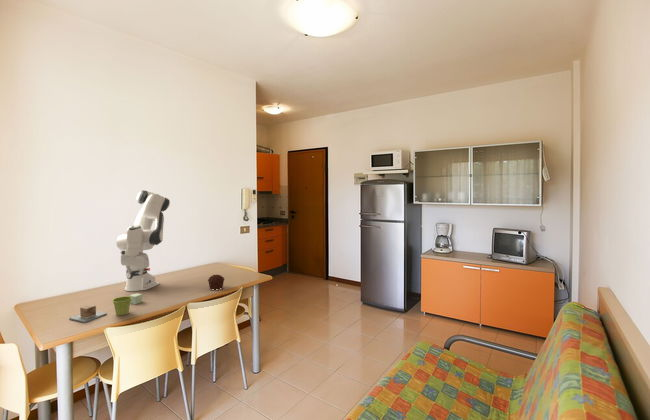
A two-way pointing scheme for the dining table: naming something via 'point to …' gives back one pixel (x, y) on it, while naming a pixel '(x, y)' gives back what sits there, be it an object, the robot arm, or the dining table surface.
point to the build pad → (84, 319)
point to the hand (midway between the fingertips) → (135, 273)
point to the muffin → (216, 282)
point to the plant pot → (122, 305)
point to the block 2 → (136, 298)
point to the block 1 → (87, 310)
